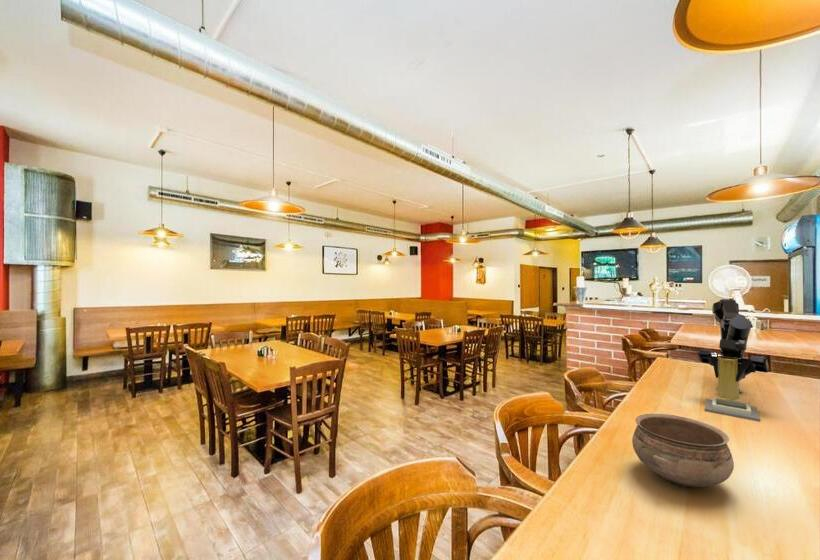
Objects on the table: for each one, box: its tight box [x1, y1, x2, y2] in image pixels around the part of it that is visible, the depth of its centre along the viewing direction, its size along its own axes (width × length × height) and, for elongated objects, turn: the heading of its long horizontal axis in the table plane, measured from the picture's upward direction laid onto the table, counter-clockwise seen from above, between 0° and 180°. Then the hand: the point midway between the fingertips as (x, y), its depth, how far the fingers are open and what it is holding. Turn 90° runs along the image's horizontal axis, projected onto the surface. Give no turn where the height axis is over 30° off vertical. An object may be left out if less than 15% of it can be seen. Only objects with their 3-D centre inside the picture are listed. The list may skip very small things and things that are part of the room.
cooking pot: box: [631, 413, 735, 488], centre depth 83 cm, size 25×19×12 cm
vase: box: [716, 356, 741, 401], centre depth 126 cm, size 6×6×14 cm
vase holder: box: [704, 396, 761, 422], centre depth 125 cm, size 14×14×2 cm
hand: (726, 379), depth 125 cm, fingers closed on vase, 5 cm apart
